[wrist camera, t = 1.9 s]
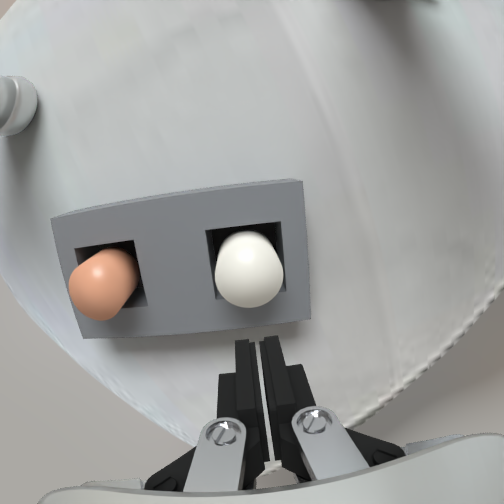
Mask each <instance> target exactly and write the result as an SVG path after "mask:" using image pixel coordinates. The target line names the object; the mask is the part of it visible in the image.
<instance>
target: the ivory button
mask: <svg viewBox="0 0 504 504" xmlns="http://www.w3.org/2000/svg"><path fill="white" fill-rule="evenodd" d="M215 282H216V286H217V289H218V290H219V292H220V294H221V295H222V296H223V297H224V298H225V299H226V300H227V301H228V302H230V303H232V304H234V305H236V306H239V307H244V308H253V307H258V306H261V305H264V304H266V303H267V302H269V301H270V300H272V299H273V298H274V297H275V296H276V294H277V293H278V292H279V290H280V288H281V285H282V282H283V268H282V265H281V262H280V260H279V258H278V256H277V254H276V252H275V250H274V248H273V246H272V244H271V242H270V240H269V239H268V238H267V237H266V236H265V235H264V234H262V233H260V232H258V231H256V230H252V229H242V230H238V231H235V232H233V233H231V234H230V235H228V236H227V237H226V238H225V239H224V241H223V242H222V244H221V246H220V249H219V253H218V259H217V264H216V270H215Z"/></svg>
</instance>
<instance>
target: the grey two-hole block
mask: <svg viewBox="0 0 504 504" xmlns="http://www.w3.org/2000/svg"><path fill="white" fill-rule="evenodd" d="M269 222H274V226H275V237H276V248H277V256H278V258H279V260H280V262H281V265H282V268H283V282H282V285H281V288H280V290H279V292H278V293H277V294H276V296H275V297H274V298H273V299H272V300H270V301H269V302H267V303H266V304H264V305H261V306H258V307H253V308H244V307H239V306H236V305H234V304H232V303H230V302H228V301H227V300H226V299H225V298H224V297H223V296H222V295H221V294H220V292H219V290H218V289H217V286H216V282H215V270H216V260H215V253H214V246H213V239H212V231H211V229H218V228H226V227H234V226H243V225H251V224H260V223H269ZM51 224H52V229H53V234H54V239H55V244H56V248H57V253H58V257H59V261H60V265H61V269H62V273H63V276H64V280H65V284H66V287H67V291H68V294H69V297H70V301H71V304H72V307H73V310H74V313H75V316H76V319H77V322H78V325H79V328H80V331H81V334H82V337H83V339H92V338H124V337H145V336H161V335H176V334H188V333H200V332H211V331H221V330H231V329H240V328H249V327H257V326H265V325H273V324H280V323H288V322H295V321H302V320H308V319H311V309H310V284H309V263H308V246H307V230H306V216H305V203H304V191H303V181H300V180H295V179H282V180H271V181H261V182H252V183H243V184H234V185H226V186H218V187H210V188H203V189H195V190H188V191H181V192H175V193H168V194H162V195H156V196H149V197H143V198H138V199H132V200H126V201H121V202H115V203H110V204H105V205H100V206H95V207H90V208H85V209H80V210H75V211H72V212H69V213H66V214H63V215H60V216H57V217H54V218H52V219H51ZM127 240H134V243H135V248H136V253H137V258H138V263H139V268H140V272H141V277H142V281H143V286H144V287H140V288H136V289H135V290H134V291H133V293H132V294H131V295H130V297H129V298H128V299H127V301H126V302H125V303H124V305H123V306H122V307H121V309H120V310H119V312H118V313H117V314H116V315H115V316H114V317H112V318H111V319H108V320H103V321H99V320H94V319H91V318H89V317H87V316H85V315H84V314H82V313H81V312H80V311H79V310H78V309H77V307H76V306H75V305H74V303H73V301H72V299H71V296H70V293H69V279H70V276H71V274H72V272H73V271H74V270H75V269H76V268H77V267H78V266H79V265H81V264H82V263H84V262H85V261H86V260H88V259H89V258H91V257H92V256H94V255H95V254H96V253H98V252H99V246H98V245H100V244H107V243H114V242H120V241H127Z"/></svg>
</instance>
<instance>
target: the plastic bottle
mask: <svg viewBox="0 0 504 504" xmlns="http://www.w3.org/2000/svg"><path fill="white" fill-rule="evenodd" d="M36 108H37V92H36V89H35V87H34V85H33V84H32V83H31V82H30V81H28V80H27V79H26V78H24V77H20V76H0V136H4V137H5V136H11V135H15V134H18V133H20V132H21V131H23V130H24V129H25V128H26V127H27V126H28V124H29V123H30V122H31V120H32V118H33V117H34V114H35V112H36Z"/></svg>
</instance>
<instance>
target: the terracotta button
mask: <svg viewBox="0 0 504 504" xmlns="http://www.w3.org/2000/svg"><path fill="white" fill-rule="evenodd" d="M139 280H140V270H139V266H138V264H137V262H136V260H135V258H134V257H133V256H132V255H131V254H130V253H129V252H128V251H126V250H125V249H123V248H120V247H115V246H111V247H106V248H104V249H102V250H101V251H99V252H98V253H96V254H95V255H94V256H92V257H91V258H89V259H88V260H86V261H85V262H84V263H82V264H81V265H79V266H78V267H77V268H76V269H75V270H74V271H73V272H72V274H71V276H70V279H69V293H70V296H71V299H72V301H73V303H74V305H75V306H76V307H77V309H78V310H79V311H80V312H81V313H82V314H84V315H85V316H87V317H89V318H91V319H94V320H99V321H103V320H108V319H111V318H112V317H114V316H115V315H116V314H117V313H118V312H119V310H120V309H121V307H122V306H123V305H124V303H125V302H126V301H127V299H128V298H129V297H130V295H131V294H132V293H133V291H134V290H135V289H136V287H137V285H138V283H139Z"/></svg>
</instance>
